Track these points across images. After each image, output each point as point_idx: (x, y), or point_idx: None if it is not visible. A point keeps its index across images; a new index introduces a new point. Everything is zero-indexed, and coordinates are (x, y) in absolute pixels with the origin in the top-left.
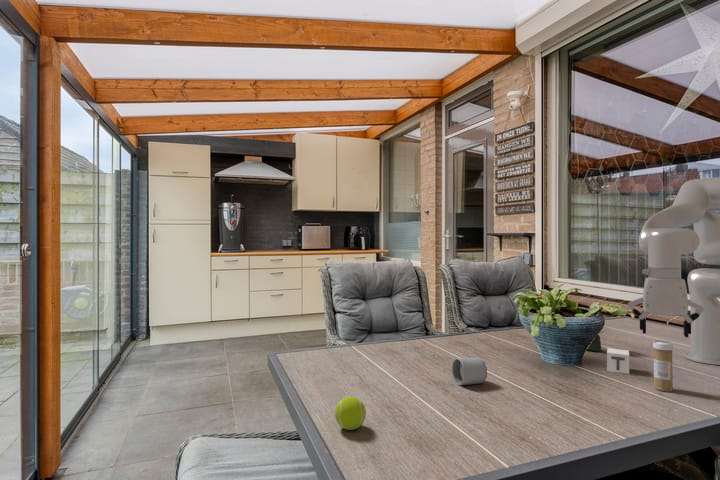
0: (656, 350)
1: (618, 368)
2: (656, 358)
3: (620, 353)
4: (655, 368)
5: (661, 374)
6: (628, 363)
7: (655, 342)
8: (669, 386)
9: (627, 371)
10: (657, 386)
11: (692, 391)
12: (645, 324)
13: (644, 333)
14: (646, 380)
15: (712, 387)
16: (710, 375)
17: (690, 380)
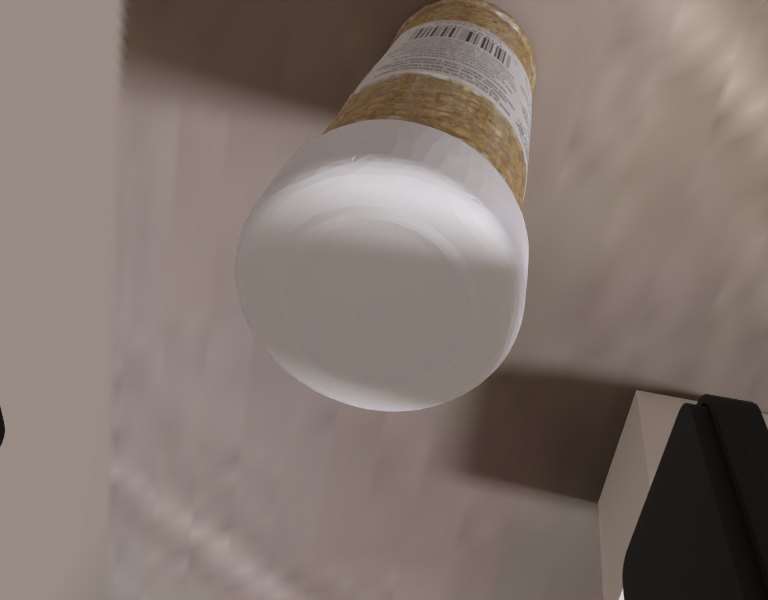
0: (502, 174)
1: None
2: (508, 134)
3: None
4: (523, 100)
5: (476, 35)
6: (651, 452)
7: (505, 252)
8: (417, 19)
9: (650, 405)
10: (515, 36)
11: (248, 110)
12: (754, 577)
13: (717, 398)
14: (540, 271)
15: (120, 258)
16: (122, 481)
17: (234, 362)
